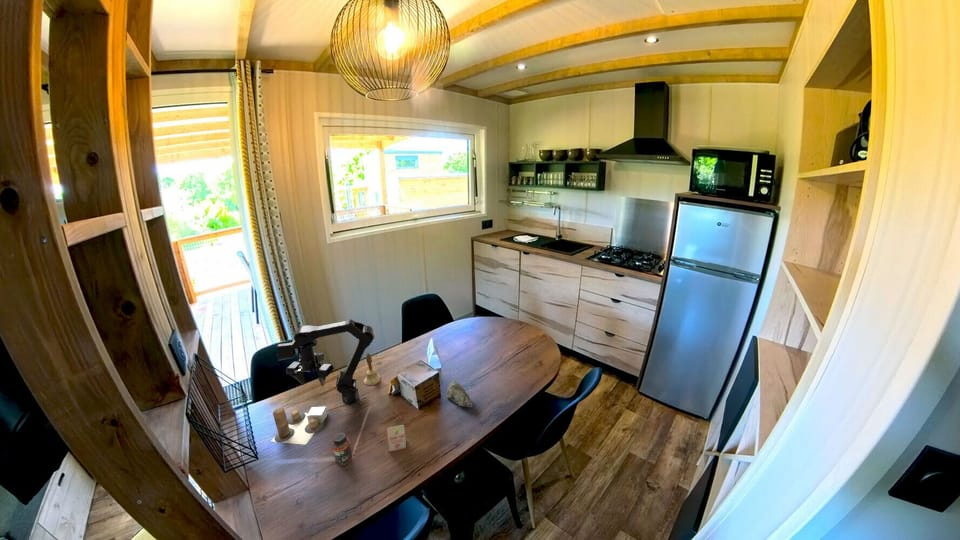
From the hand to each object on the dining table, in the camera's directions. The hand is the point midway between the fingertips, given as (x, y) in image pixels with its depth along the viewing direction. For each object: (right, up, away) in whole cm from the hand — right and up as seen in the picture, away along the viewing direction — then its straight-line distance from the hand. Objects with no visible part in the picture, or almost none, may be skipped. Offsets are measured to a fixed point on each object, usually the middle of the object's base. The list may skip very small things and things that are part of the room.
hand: (313, 385), depth 146 cm
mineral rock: (+64, -11, +7) cm, 66 cm away
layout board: (-2, -16, -7) cm, 18 cm away
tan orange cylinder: (-6, -17, -11) cm, 21 cm away
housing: (+3, -14, -3) cm, 14 cm away
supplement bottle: (+22, -21, -21) cm, 37 cm away
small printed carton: (+41, -19, -15) cm, 48 cm away
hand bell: (+18, -6, +23) cm, 30 cm away
